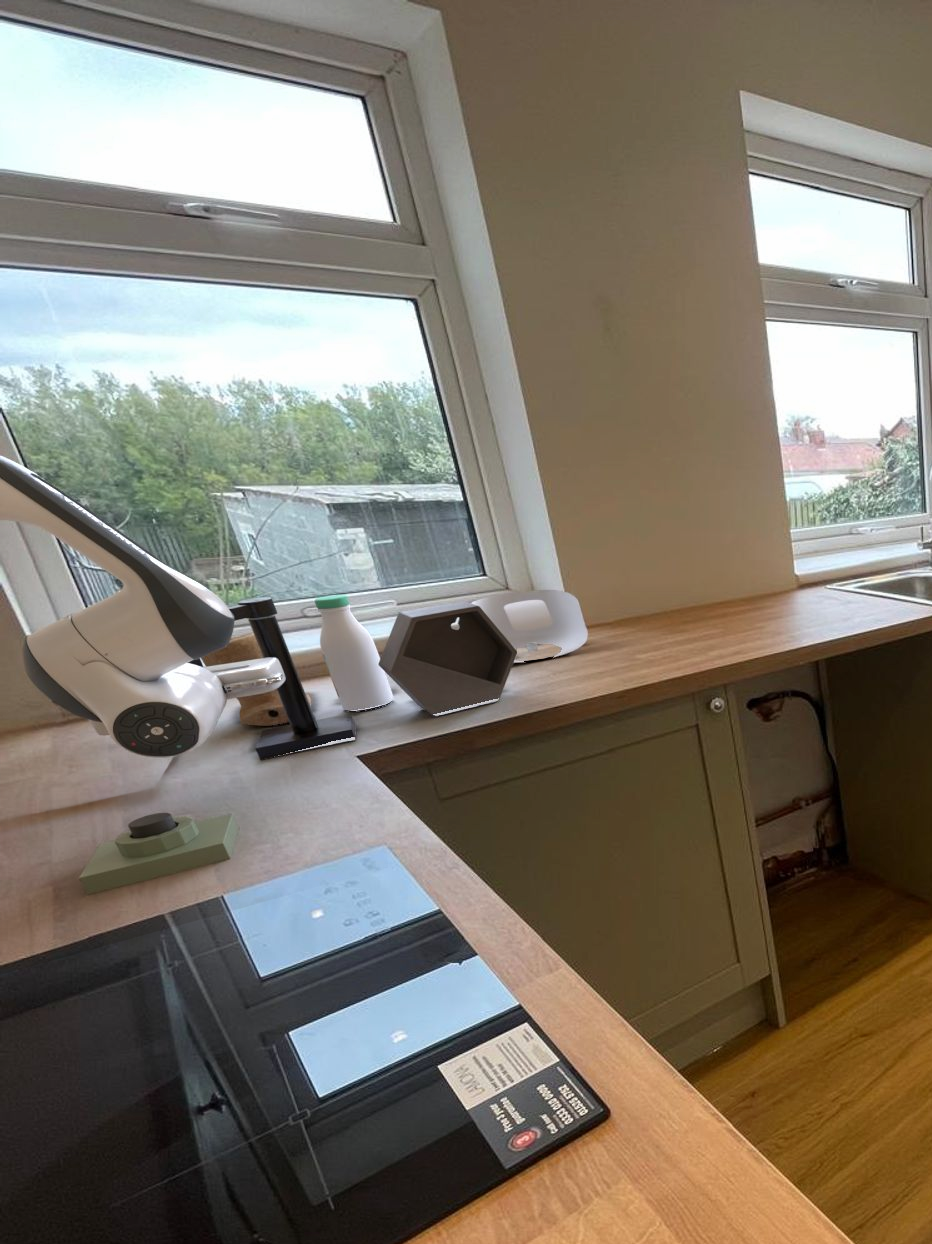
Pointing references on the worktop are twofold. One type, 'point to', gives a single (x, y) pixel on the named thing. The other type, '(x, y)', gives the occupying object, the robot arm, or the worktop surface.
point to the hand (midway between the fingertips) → (194, 674)
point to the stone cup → (253, 707)
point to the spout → (249, 612)
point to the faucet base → (293, 702)
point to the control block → (160, 853)
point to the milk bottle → (351, 656)
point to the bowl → (537, 619)
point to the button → (151, 825)
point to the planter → (448, 656)
